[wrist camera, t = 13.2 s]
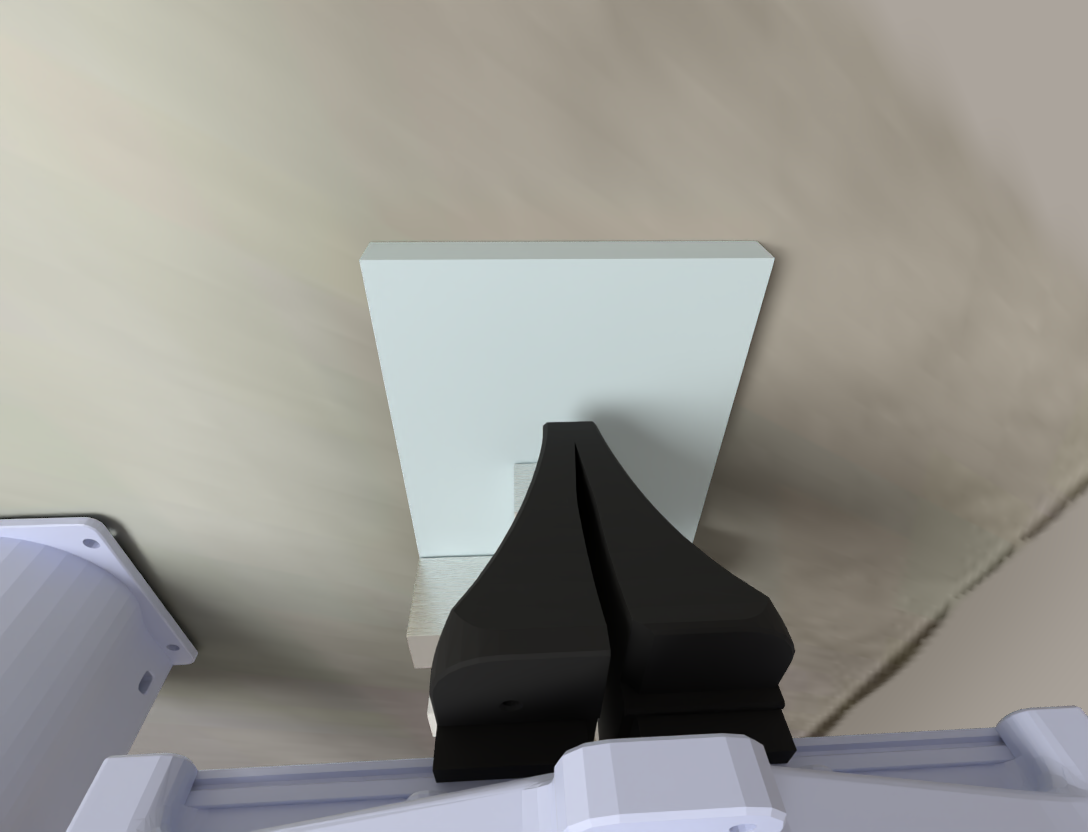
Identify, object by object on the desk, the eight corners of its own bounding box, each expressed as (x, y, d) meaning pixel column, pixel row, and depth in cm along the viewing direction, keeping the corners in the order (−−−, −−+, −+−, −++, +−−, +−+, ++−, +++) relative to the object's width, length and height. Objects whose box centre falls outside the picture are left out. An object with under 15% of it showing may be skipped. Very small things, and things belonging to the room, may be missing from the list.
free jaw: (682, 581, 21) (725, 723, 17) (425, 591, 20) (404, 739, 16) (718, 458, 17) (786, 604, 13) (400, 466, 16) (363, 621, 12)
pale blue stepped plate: (654, 633, 25) (676, 729, 22) (444, 641, 25) (434, 741, 22) (756, 241, 14) (837, 316, 10) (370, 242, 13) (323, 322, 10)
